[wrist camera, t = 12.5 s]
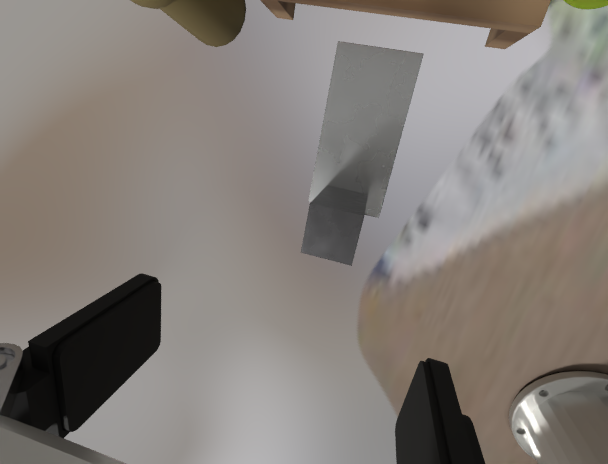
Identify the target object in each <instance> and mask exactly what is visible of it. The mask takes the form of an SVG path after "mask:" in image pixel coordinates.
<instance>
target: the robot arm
mask: <svg viewBox="0 0 608 464" xmlns="http://www.w3.org/2000/svg"><path fill="white" fill-rule="evenodd" d="M160 338H161V284H160V283H158V279H157V278H156V277H152V276H149V275H146V274H139V275H137V276H135V277H134V278H132V279H130V280H128V281H127V282H125V283H124V284H122V285H121V286H119V287H117V288H115V289H114V290H112V291H110V292H109V293H107V294H106V295H104V296H102V297H100V298H99V299H97V300H95V301H94V302H92V303H91V304H89V305H87V306H86V307H84V308H83V309H81V310H79V311H77V312H76V313H74V314H72V315H71V316H69V317H67V318H66V319H64V320H62V321H61V322H60V323H58V324H56V325H54V326H53V327H51V328H49V329H48V330H46V331H45V332H43V333H41V334H39V335H38V336H36V337H34V338H33V339H31V340H30V341H28V343H29V347H28V348H26V349H24V350H23V351H22V349H21V348H20V347H19V346H17V345H15V344H9V343H0V464H126V463H124V462H121V461H118V460H116V459H114V458H111V457H108V456H106V455H104V454H101V453H99V452H96V451H94V450H91V449H89V448H86V447H83V446H81V445H79V444H76V443H73V442H71V441H68V440H66V439H64V437H65V436H66V435H67V434H68V433H69V432H70V431H71V432H73V431H75V430H77V429H78V428H79V427H80V426H81V425H82V424H83V423H84V422H85V421H86V420H87V419H88V418H89V417H90V416H91V415H92V414H93V413H94V412H95V411H96V410H97V409H98V408H99V407H100V406H101V405H102V404H103V403H104V402H105V401H106V400H107V399H108V398H110V397H111V395H113V393H114V392H116V391H117V390H118V388H119V387H121V386H122V385H123V384H124V383H125V381H127V380H128V379H129V378H130V377H131V376H132V375H133V374H134V373H135V372H136V371H137V369H139V368H140V367H141V366H142V365H143V364H144V363H145V362H146V361H147V360H148V359H149V358H150V357H151V356H152V355H153V354H154V353H155V352H156V351H157V349H158V347H159V345H160V340H161V339H160ZM509 423H510V427H511V430H512V432H513V435H514V437H515V439H516V441H517V442H518V444H519V446H520V447H521V448H522V449H523V450H524V451H525V452H526V453H527V454H528V455H530V456H531V457H532V458H534V459H535V460H537V462H538V464H608V375H607V374H602V373H596V372H590V371H571V372H561V373H557V374H553V375H549V376H546V377H544V378H541V379H539V380H536V381H535V382H533V383H531V384H530V385H528V386H527V387H525V388H524V389H523V390H522V391H521V392H520V393H519V394H518V395H517V397H516V398H515V399H514V401H513V403H512V405H511V408H510V412H509ZM395 436H396V458H397V464H485V461H484V458H483V455H482V452H481V448H480V445H479V442H478V439H477V435H476V432H475V429H474V426H473V423H472V421H471V419H470V418H469V417H468V416H466V415H462V413H461V409H460V406H459V402H458V399H457V395H456V392H455V388H454V384H453V381H452V377H451V374H450V370H449V367H448V364H446V363H444V362H440V361H437V360H434V359H430V358H428V359H427V360H426V362H424V361H420V362H419V364H418V367H417V369H416V372H415V375H414V377H413V380H412V382H411V385H410V388H409V390H408V393H407V395H406V398H405V400H404V403H403V406H402V408H401V411H400V413H399V416H398V418H397V422H396V428H395Z"/></svg>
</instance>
